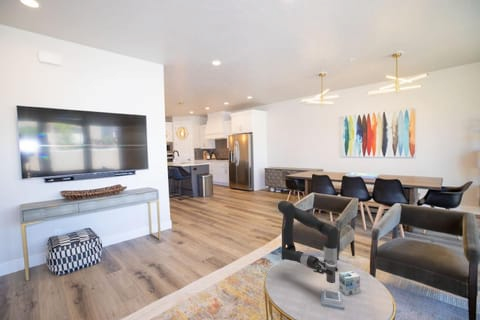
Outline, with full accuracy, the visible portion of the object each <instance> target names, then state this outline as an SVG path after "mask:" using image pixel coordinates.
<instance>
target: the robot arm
mask: <svg viewBox="0 0 480 320" xmlns="http://www.w3.org/2000/svg"><path fill="white" fill-rule="evenodd" d="M277 209H278V212H280V214H283V215H284V219H285V223H284V227H283V230H282V243H283V245H285V246H286V247H284V248H283V249H282V250H281V252H280V253H281V256H282V257H283V259H285V260H287V261H290V262H291V261H292V262H296V263H299V264H301V265H303V266H305V267H307V268H309V269H311V270H313V272H314V273H317V274H321V275H324V274H326V273H327V274H329V275H333V271H330V270H328V269H326V261H334V262H335V273H337V272H338V270H339V268H338V243H339V229H338V228H337V226H334V225H332V224H330V223H326V222H324V221H322V220H320V219H318V217H316V216H315V215H314V214H312V213H310V212H309V211H306V210H303V209H301V208H298V207H296V206H295V205H294V204H293V203H292V202H290V201H287V200H280V201H279V203H278V204H277ZM295 220H296V221H297V222H298V223H301V224H302V225H303V226H306V227H307V228H310V229H314V230H316V231H318V232H320V233H321V234H322V235H323V236H325V237H326V238H327V240H324V241H323V260H320V259H319V258H318V257H317V256H315V255H311V254H309V253H306V252H303V251H300V250H297V249H296V246H295V243H294V242H295V241H294V223H295Z"/></svg>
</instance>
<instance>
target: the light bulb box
mask: <svg viewBox="0 0 480 320" xmlns="http://www.w3.org/2000/svg"><path fill="white" fill-rule="evenodd" d="M338 285H339V286H338V289H339V290H340V291H341V293H342V294H344V295H345V296H349V295H353V294H355V295H356V294H360V293H361V276H360V275H359V274H358V273H357V272H355V271H354V270H351V271H349V270H348V271H344V272H343V271H342V272H338Z"/></svg>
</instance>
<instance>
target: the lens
mask: <svg viewBox="0 0 480 320" xmlns="http://www.w3.org/2000/svg"><path fill="white" fill-rule="evenodd" d="M326 269H328V270H330V271H333V275H329V274H327V273H325V276H326V278H325V279H326V282H327V283H329V284H335V283H336V271H335V262H334V261H326Z"/></svg>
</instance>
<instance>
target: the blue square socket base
mask: <svg viewBox="0 0 480 320" xmlns="http://www.w3.org/2000/svg"><path fill="white" fill-rule="evenodd" d="M320 291H321V292H320V297H321V299H320V300H321V303H320V304H321V307H327V308H332V309H337V310H341V311H345V304H344V299H343V293H340V291H335V290H331V289H324V290H320Z"/></svg>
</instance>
